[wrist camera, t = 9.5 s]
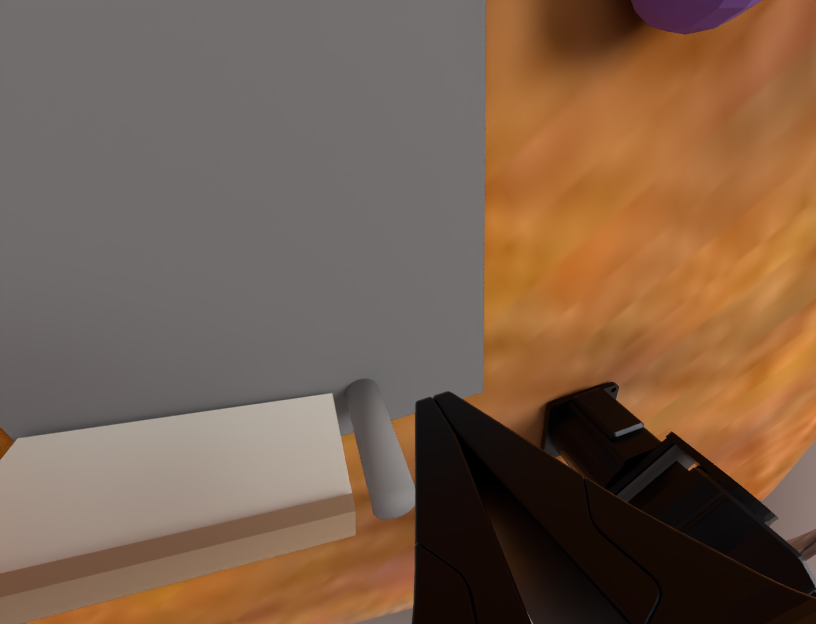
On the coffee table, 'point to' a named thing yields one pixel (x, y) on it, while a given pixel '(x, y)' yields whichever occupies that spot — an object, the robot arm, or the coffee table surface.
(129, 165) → the flat gray base plate
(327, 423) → the gate
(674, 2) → the kendama
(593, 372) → the coffee table surface
